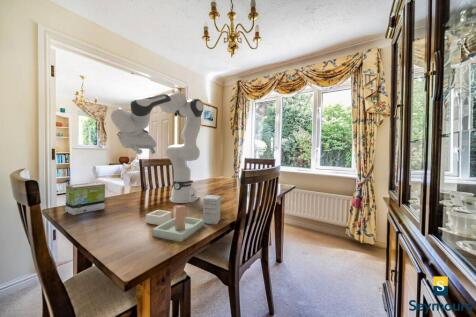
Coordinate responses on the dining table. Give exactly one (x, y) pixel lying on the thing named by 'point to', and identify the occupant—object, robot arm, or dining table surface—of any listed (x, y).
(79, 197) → the tea box
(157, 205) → the dining table surface
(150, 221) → the white square dish
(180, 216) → the terracotta jar
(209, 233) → the dining table surface
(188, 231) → the tray
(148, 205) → the dining table surface
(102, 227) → the dining table surface
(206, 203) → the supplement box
